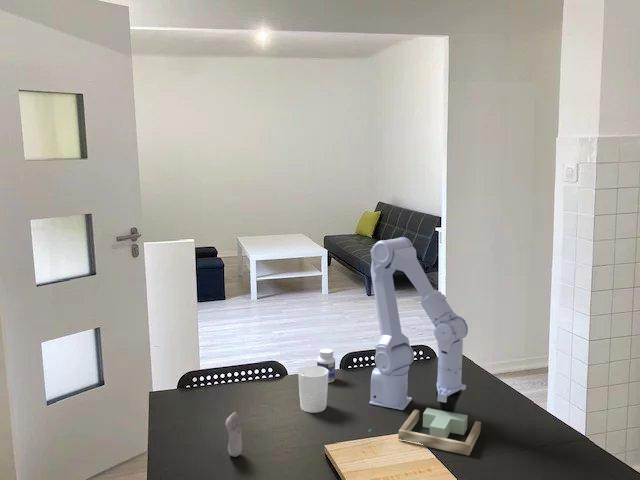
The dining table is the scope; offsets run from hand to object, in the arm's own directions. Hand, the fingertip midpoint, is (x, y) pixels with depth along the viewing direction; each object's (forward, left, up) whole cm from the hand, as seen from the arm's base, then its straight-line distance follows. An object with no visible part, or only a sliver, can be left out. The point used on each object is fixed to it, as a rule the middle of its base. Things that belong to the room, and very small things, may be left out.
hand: (447, 419), depth 152 cm
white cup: (-34, -6, -1) cm, 35 cm away
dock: (0, -7, -1) cm, 7 cm away
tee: (0, -6, -1) cm, 6 cm away
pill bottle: (-39, +13, -1) cm, 41 cm away
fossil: (-39, -36, -1) cm, 53 cm away
